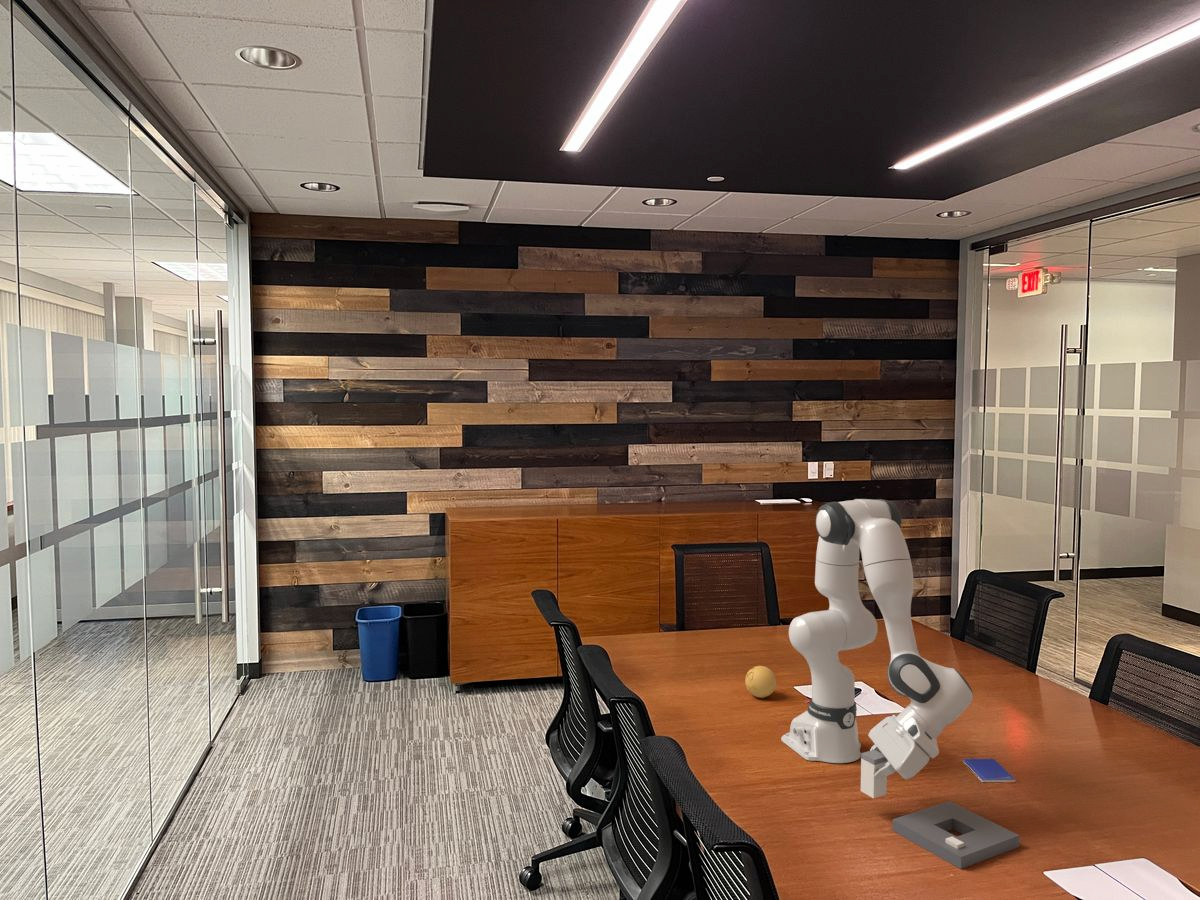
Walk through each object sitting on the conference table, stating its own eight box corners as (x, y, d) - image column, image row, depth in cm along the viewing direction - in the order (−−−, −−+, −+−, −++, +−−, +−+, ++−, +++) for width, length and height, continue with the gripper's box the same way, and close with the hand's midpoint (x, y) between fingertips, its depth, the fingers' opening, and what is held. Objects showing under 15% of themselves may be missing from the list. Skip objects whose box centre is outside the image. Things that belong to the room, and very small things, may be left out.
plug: (860, 791, 197) (861, 753, 196) (873, 787, 199) (874, 749, 198) (873, 798, 193) (874, 759, 192) (886, 794, 195) (887, 756, 194)
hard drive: (1016, 778, 211) (994, 758, 223) (982, 778, 211) (963, 758, 224) (1016, 785, 211) (994, 764, 223) (982, 785, 211) (963, 764, 224)
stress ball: (779, 699, 275) (769, 672, 282) (781, 683, 268) (771, 656, 276) (749, 706, 274) (740, 679, 282) (751, 690, 268) (741, 663, 275)
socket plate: (892, 830, 188) (892, 815, 188) (949, 811, 197) (949, 797, 197) (960, 869, 172) (960, 853, 172) (1019, 846, 181) (1019, 831, 181)
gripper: (889, 702, 205) (847, 742, 206) (922, 737, 185) (876, 781, 185) (907, 720, 205) (865, 760, 206) (942, 757, 185) (896, 801, 186)
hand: (871, 770), depth 195 cm, fingers closed on plug, 5 cm apart
